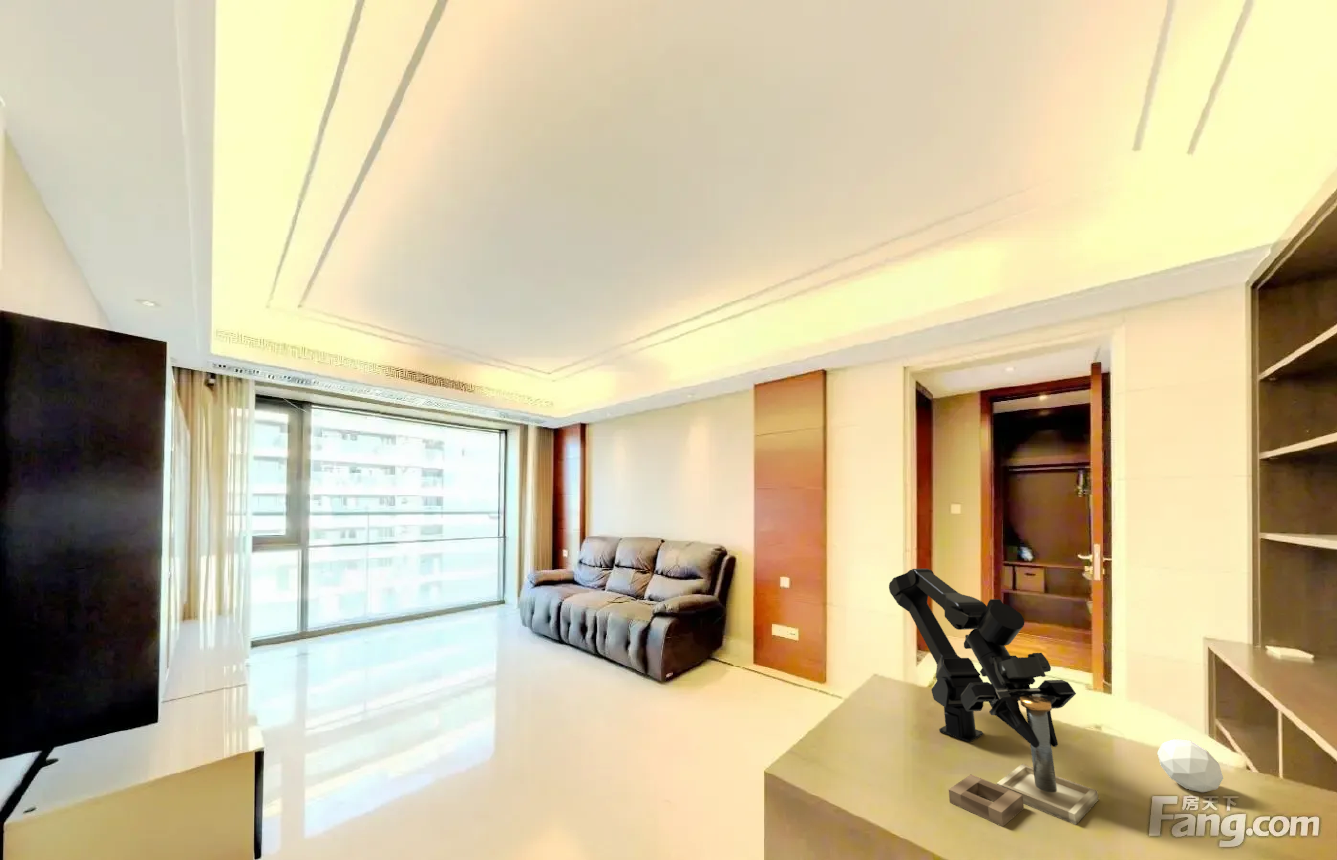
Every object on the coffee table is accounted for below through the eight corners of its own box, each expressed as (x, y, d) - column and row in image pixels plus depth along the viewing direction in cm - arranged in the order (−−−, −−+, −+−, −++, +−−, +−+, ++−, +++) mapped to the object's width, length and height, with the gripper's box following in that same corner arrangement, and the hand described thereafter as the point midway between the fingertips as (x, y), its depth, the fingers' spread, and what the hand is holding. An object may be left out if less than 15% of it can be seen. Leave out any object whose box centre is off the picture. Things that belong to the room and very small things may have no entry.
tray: (1023, 772, 92) (1022, 763, 92) (1098, 800, 83) (1097, 790, 83) (997, 792, 85) (996, 783, 86) (1076, 825, 76) (1074, 814, 77)
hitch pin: (1028, 777, 87) (1018, 694, 89) (1059, 784, 85) (1048, 698, 87) (1031, 790, 84) (1021, 702, 86) (1064, 797, 81) (1052, 707, 84)
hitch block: (972, 786, 87) (970, 774, 88) (1023, 808, 81) (1022, 795, 81) (949, 802, 83) (948, 789, 83) (1003, 826, 76) (1001, 812, 77)
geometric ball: (1181, 798, 87) (1156, 747, 93) (1241, 798, 82) (1212, 743, 88) (1164, 787, 85) (1140, 734, 90) (1226, 785, 80) (1197, 730, 85)
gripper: (963, 637, 92) (1013, 727, 79) (1059, 634, 92) (1125, 723, 80) (942, 668, 98) (986, 755, 86) (1033, 665, 99) (1089, 752, 86)
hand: (1046, 746), depth 84 cm, fingers closed on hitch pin, 3 cm apart
